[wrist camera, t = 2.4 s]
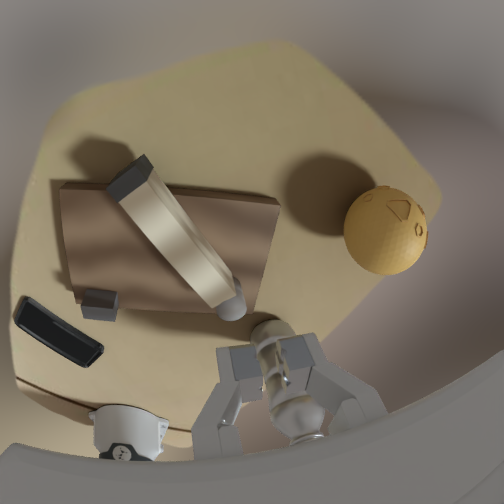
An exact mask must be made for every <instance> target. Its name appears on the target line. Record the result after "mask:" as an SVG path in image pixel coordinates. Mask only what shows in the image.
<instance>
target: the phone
mask: <svg viewBox="0 0 504 504" xmlns="http://www.w3.org/2000/svg"><path fill="white" fill-rule="evenodd" d="M14 322H15V324H16V325H17V326H18V327H19V328H21V329H22V330H23V331H25V332H26V333H28V334H29V335H31V336H32V337H33V338H35V339H36V340H38V341H39V342H41V343H43V344H44V345H46V346H47V347H49V348H50V349H52V350H54V351H55V352H57V353H58V354H60V355H62V356H63V357H65V358H67V359H69V360H70V361H72V362H74V363H76V364H77V365H79V366H81V367H84V368H88V367H89V366H90V365H91V364H92V363H93V362H94V361H95V360H97V359H98V358H99V357H100V356H101V355H102V354H103V351H104V346H103V345H102V344H101V343H99V342H97V341H96V340H94V339H92V338H90V337H89V336H87V335H86V334H84V333H82V332H81V331H79V330H78V329H76V328H74V327H73V326H71V325H70V324H68V323H67V322H65V321H64V320H62V319H61V318H59V317H58V316H56V315H55V314H53V313H52V312H50V311H49V310H48V309H46V308H45V307H43V306H42V305H41V304H39V303H38V302H37V301H35V300H34V299H32V298H31V297H25V298H24V300H23V302H22V304H21V306H20V308H19V310H18V313H17V315H16V317H15V320H14Z"/></svg>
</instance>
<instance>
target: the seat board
mask: <svg viewBox="0 0 504 504" xmlns="http://www.w3.org/2000/svg"><path fill="white" fill-rule="evenodd" d="M108 185H109V184H93V183H66V184H64V185H63V186H62V187H61V188H60V189H59V197H60V210H61V220H62V228H63V236H64V243H65V250H66V256H67V262H68V268H69V273H70V278H71V283H72V288H73V292H74V297H75V301H76V304H81V310H82V314H83V318H85V319H93V320H103V321H113V322H115V319H116V315H117V310H118V308H126V309H139V310H154V311H170V312H191V313H217V311H216V307H214V308H211V307H210V306H209V305H208V304H207V303H206V302H205V301H204V300H203V299H202V298H201V296H200V295H199V294H198V293H197V292H196V291H195V290H194V289H193V288H192V287H191V286H190V285H189V284H188V282H187V281H186V280H185V279H184V278H183V277H182V276H181V275H180V274H179V273H178V271H177V270H176V269H175V268H174V267H173V266H172V265H171V264H170V263H169V261H168V260H167V259H166V258H165V257H164V256H163V255H162V253H161V252H160V251H159V250H158V249H157V248H156V247H155V245H154V244H153V243H152V242H151V241H150V240H149V238H148V237H147V236H146V235H145V234H144V233H143V231H142V230H141V229H140V228H139V227H138V225H137V224H136V223H135V222H134V221H133V219H132V218H131V217H130V216H129V215H128V213H127V212H126V211H125V210H124V208H123V207H122V206H121V205H120V203H119V202H118V203H117V202H116V201H115V200H114V199H113V197H112V196H111V195H110V194H109V192H108V191H107V190H106V188H107V186H108ZM167 188H168V187H167ZM168 190H169V191H170V192H171V194H172V195H173V196H174V198H175V199H176V200H177V202H178V203H179V204H180V206H181V207H182V208H183V210H184V211H185V212H186V214H187V215H188V216H189V218H190V219H191V220H192V222H193V223H194V224H195V226H196V227H197V228H198V230H199V231H200V232H201V233H202V235H203V236H204V237H205V239H206V240H207V241H208V243H209V244H210V245H211V246H212V248H213V249H214V250H215V252H216V253H217V254H218V256H219V257H220V258H221V259H222V261H223V262H224V263H225V265H226V266H227V267H228V268H229V270H230V271H231V273H232V276H233V277H236V278H237V279H238V280H239V281H240V284H241V288H242V291H243V295H244V299H245V303H246V307H247V310H246V313H245V314H253V311H254V307H255V303H256V299H257V296H258V292H259V288H260V284H261V281H262V277H263V273H264V269H265V265H266V262H267V258H268V254H269V250H270V246H271V242H272V238H273V235H274V231H275V227H276V223H277V219H278V215H279V211H280V207H281V205H280V204H279V202H278V201H277V200H276V199H275V198H267V197H259V196H251V195H242V194H233V193H224V192H214V191H203V190H192V189H180V188H168Z"/></svg>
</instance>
